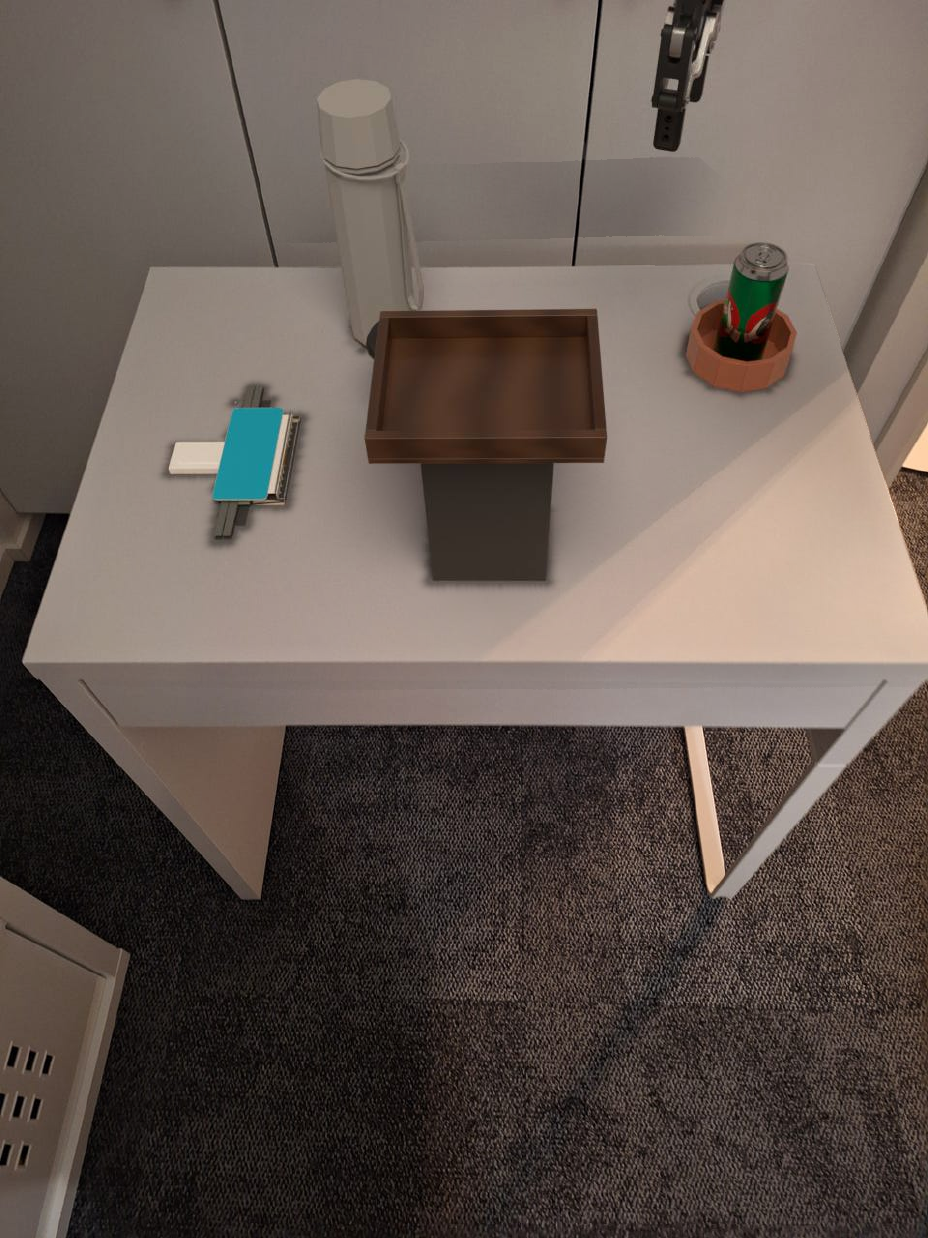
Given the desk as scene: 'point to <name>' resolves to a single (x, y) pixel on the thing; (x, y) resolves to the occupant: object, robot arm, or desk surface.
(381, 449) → the tray
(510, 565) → the stand
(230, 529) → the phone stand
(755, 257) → the soda can
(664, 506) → the desk surface
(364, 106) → the water bottle
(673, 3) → the robot arm
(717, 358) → the bowl
